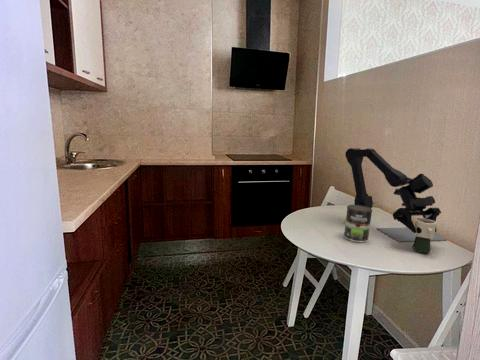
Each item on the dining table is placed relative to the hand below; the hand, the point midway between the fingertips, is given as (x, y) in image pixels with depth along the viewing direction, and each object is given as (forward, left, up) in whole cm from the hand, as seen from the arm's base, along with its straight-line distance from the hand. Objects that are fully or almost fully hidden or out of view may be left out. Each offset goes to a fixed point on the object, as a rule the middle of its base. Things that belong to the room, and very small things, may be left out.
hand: (425, 232), depth 117 cm
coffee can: (-20, +16, -8) cm, 27 cm away
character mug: (0, +1, -8) cm, 9 cm away
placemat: (+9, +18, -8) cm, 21 cm away
